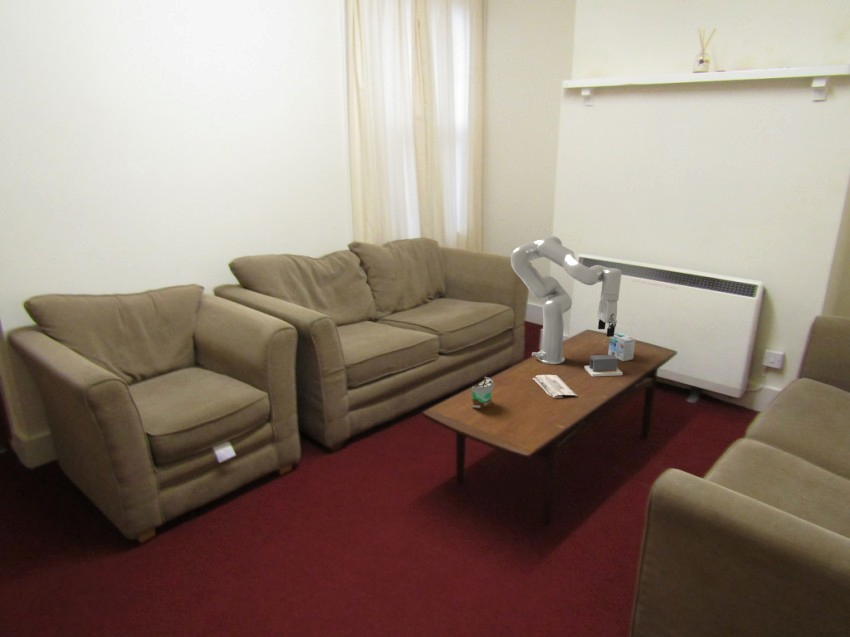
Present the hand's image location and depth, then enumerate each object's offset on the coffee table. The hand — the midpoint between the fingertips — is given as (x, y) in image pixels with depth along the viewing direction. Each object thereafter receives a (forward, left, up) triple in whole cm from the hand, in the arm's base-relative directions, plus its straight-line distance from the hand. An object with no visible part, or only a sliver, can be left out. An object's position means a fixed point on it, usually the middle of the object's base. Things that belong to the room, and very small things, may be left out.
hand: (605, 332), depth 255 cm
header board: (0, 0, -19) cm, 19 cm away
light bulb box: (+16, +17, -19) cm, 30 cm away
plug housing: (0, 0, -18) cm, 18 cm away
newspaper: (-27, -15, -20) cm, 37 cm away
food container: (-61, -28, -19) cm, 70 cm away
